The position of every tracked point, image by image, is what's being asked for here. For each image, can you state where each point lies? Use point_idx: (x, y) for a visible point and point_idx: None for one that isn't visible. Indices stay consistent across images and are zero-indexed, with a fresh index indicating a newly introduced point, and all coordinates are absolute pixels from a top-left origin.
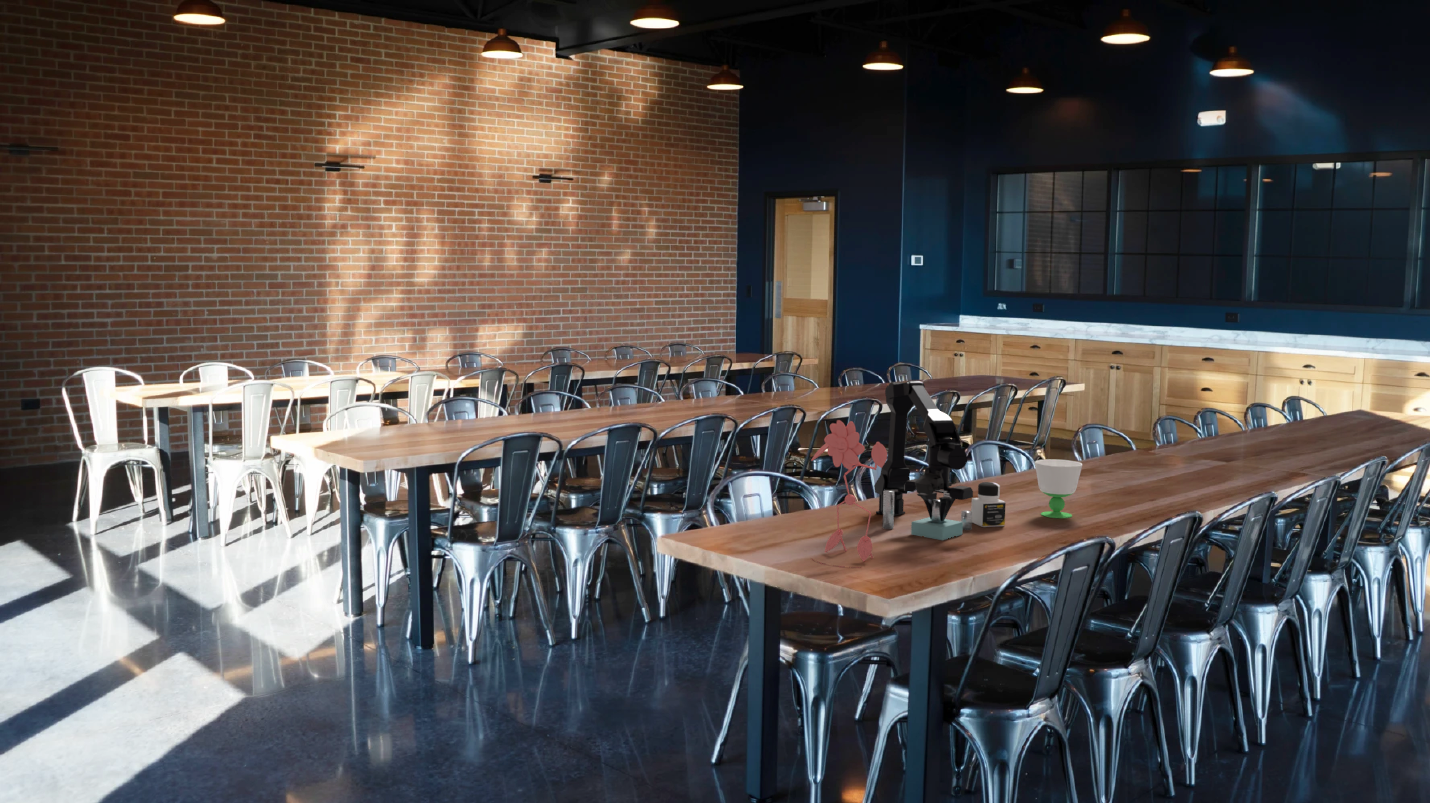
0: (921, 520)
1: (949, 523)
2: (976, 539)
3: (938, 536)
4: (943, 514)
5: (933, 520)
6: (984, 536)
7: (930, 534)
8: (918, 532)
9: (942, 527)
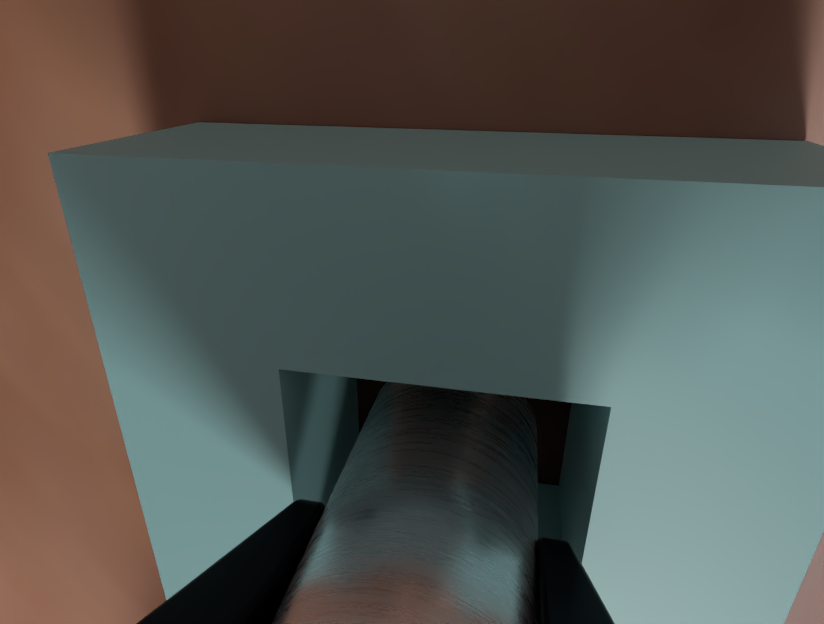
0: (761, 471)
1: (222, 510)
2: (38, 421)
3: (246, 131)
4: (176, 595)
5: (450, 464)
6: (94, 557)
7: (393, 138)
8: (654, 145)
9: (62, 153)
